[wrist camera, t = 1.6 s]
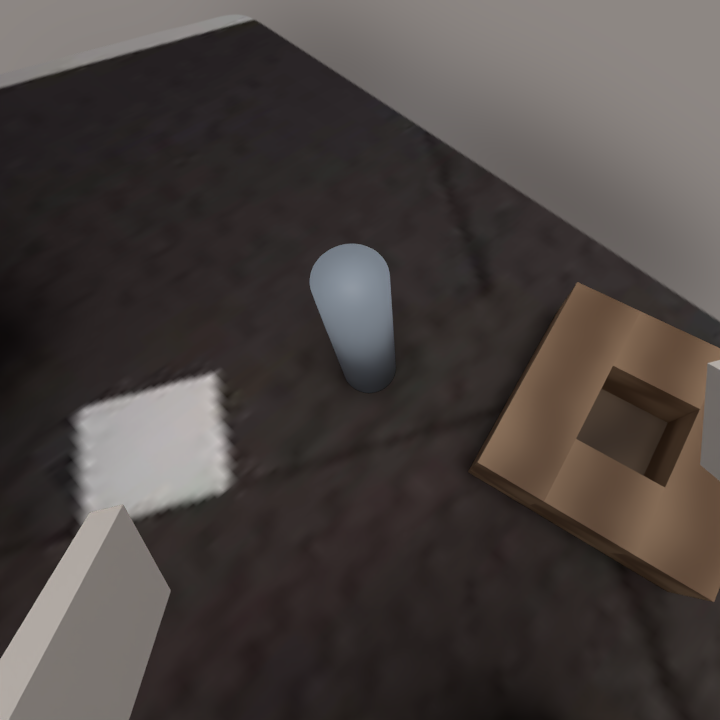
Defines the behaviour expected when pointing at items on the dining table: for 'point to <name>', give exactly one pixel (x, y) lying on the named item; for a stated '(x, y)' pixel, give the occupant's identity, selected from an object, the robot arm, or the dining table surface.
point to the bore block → (615, 441)
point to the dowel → (357, 313)
